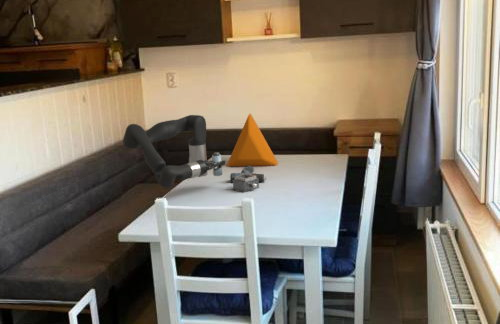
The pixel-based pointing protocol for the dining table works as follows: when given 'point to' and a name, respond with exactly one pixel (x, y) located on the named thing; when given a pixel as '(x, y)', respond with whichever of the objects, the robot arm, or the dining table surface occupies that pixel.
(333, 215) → the dining table surface
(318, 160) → the dining table surface
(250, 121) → the decorative object
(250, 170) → the power drill
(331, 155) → the dining table surface
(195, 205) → the dining table surface
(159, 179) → the robot arm
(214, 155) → the capped canister
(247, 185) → the grey metal open box
